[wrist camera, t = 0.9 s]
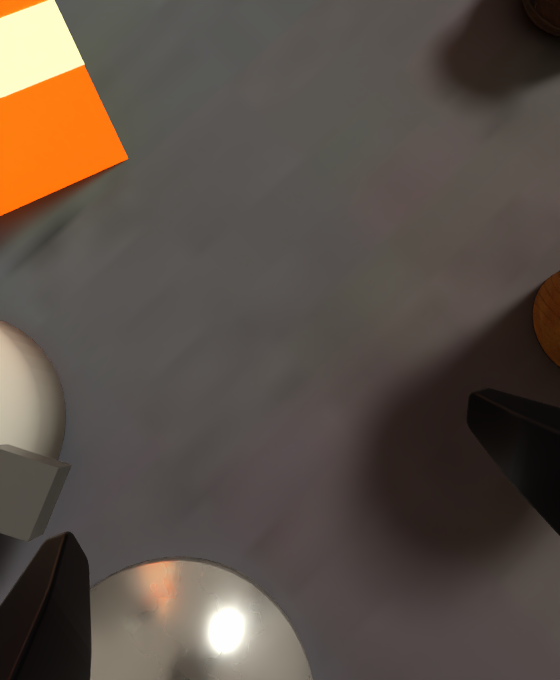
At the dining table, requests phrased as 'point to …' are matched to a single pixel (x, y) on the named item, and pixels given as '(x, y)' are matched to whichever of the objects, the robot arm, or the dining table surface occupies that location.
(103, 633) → the lid
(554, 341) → the disposable coffee cup
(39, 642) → the robot arm
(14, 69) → the orange juice
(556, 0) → the mate gourd
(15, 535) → the pot
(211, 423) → the dining table surface
